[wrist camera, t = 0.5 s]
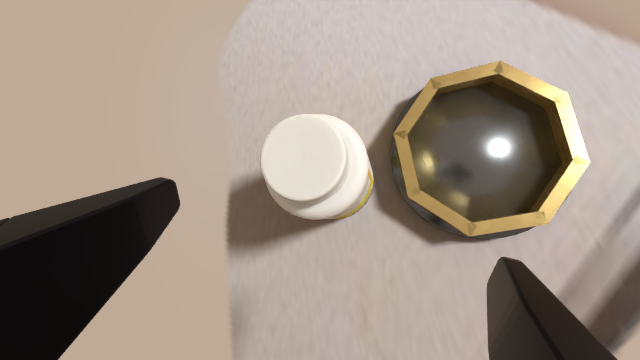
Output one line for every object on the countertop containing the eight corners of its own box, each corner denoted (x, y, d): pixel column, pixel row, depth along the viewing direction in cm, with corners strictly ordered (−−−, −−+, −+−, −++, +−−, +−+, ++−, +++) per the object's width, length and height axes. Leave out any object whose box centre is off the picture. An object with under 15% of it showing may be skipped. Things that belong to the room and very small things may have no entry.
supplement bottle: (301, 147, 25) (245, 99, 15) (373, 144, 24) (364, 90, 14) (300, 219, 24) (240, 219, 14) (374, 219, 23) (365, 220, 13)
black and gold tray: (594, 221, 20) (619, 221, 18) (409, 250, 22) (412, 253, 20) (542, 55, 22) (559, 38, 20) (376, 97, 24) (375, 85, 22)
